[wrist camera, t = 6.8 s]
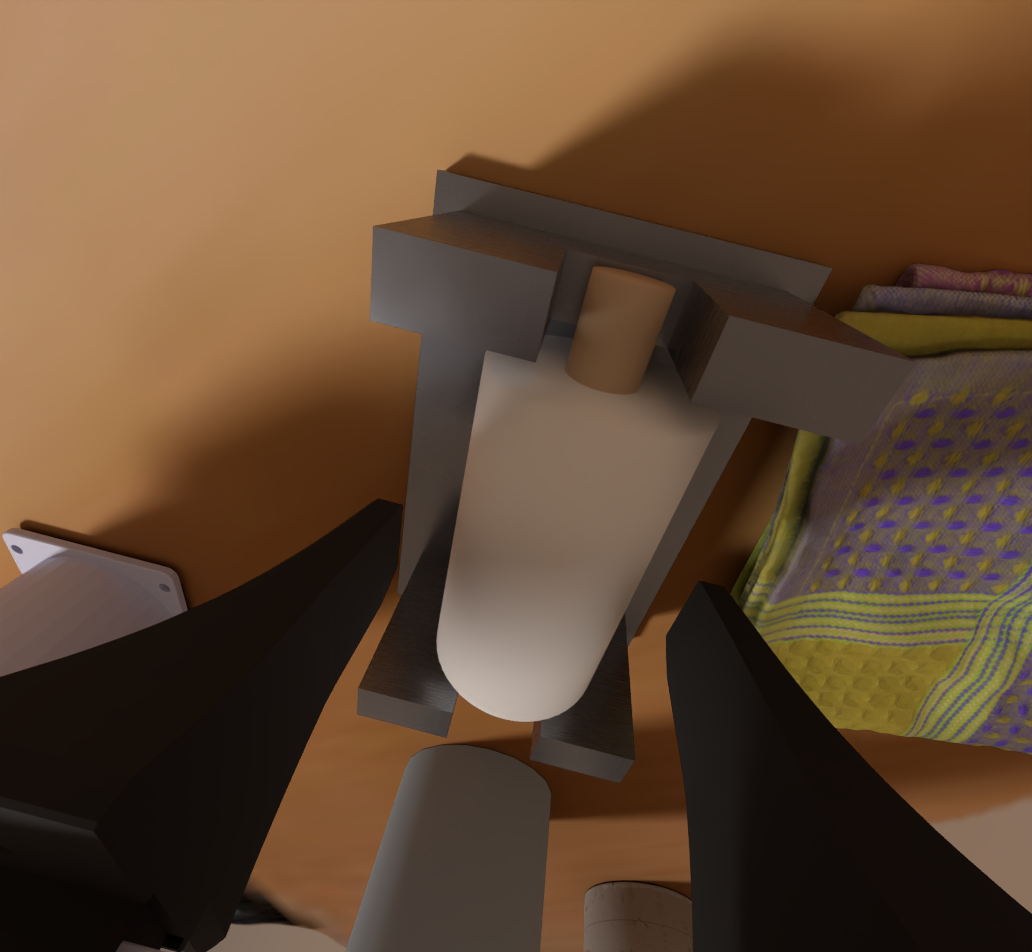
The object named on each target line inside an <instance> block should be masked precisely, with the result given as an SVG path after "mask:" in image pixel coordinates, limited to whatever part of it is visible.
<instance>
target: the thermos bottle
mask: <svg viewBox="0 0 1032 952" xmlns="http://www.w3.org/2000/svg"><path fill="white" fill-rule="evenodd" d="M584 952H693V934H692V901H691V900H690V899H688V898H687V897H685V896H683V895H681V894H679V893H677V892H675V891H672V890H669V889H666V888H663V887H659V886H655V885H651V884H645V883H637V882H609V883H604V884H599V885H596V886H594V887H592V888H590V889H589V890H588V891H587V892H586V894H585V908H584Z"/></svg>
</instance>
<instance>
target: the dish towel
mask: <svg viewBox="0 0 1032 952" xmlns="http://www.w3.org/2000/svg"><path fill="white" fill-rule="evenodd" d="M835 318H837V319H839V320H841V321H842V322H844V323H846V324H848V325H850V326H851V327H853V328H855V329H857V330H859V331H861V332H862V333H864V334H866V335H868V336H870V337H871V338H873V339H875V340H877V341H879V342H881V343H882V344H884V345H886V346H888V347H890V348H891V349H893V350H895V351H897V352H899V353H901V354H902V355H904V356H906V357H908V358H910V359H911V360H913V361H915V362H917V363H916V365H915V366H914V368H913V369H912V371H911V372H910V373H909V375H908V376H907V378H906V379H905V380H904V382H903V383H902V385H901V386H900V388H899V389H898V390H897V392H896V393H895V395H894V396H893V397H892V399H891V400H890V402H889V403H888V404H887V406H886V407H885V409H884V410H883V412H882V413H881V414H880V416H879V417H878V419H877V420H876V421H875V423H874V424H873V426H872V427H871V429H870V430H869V431H868V433H867V434H866V436H865V437H864V438H863V440H862V441H861V443H860V444H855V443H851V442H847V441H843V440H839V439H835V438H831V437H827V436H823V435H819V434H815V433H812V432H808V431H804V430H800V429H799V430H798V434H797V438H796V441H795V445H794V448H793V451H792V455H791V458H790V462H789V465H788V468H787V471H786V474H785V478H784V481H783V484H782V488H781V491H780V494H779V498H778V501H777V505H776V508H775V510H774V512H773V514H772V517H771V519H770V521H769V523H768V525H767V528H766V529H765V531H764V533H763V534H762V536H761V538H760V539H759V541H758V543H757V545H756V546H755V548H754V550H753V552H752V554H751V555H750V557H749V559H748V561H747V563H746V564H745V566H744V568H743V570H742V571H741V573H740V575H739V577H738V579H737V581H736V583H735V585H734V586H733V588H732V591H731V593H730V595H731V596H732V597H733V599H734V600H735V601H736V603H737V604H738V605H739V606H740V608H741V609H742V611H743V612H744V613H745V615H746V616H747V617H748V619H749V620H750V621H751V623H752V624H753V625H754V627H755V628H756V629H757V631H758V632H759V633H760V635H761V636H762V638H763V639H764V640H765V642H766V643H767V644H768V646H769V647H770V648H771V650H772V651H773V652H774V653H775V655H776V656H777V657H778V659H779V660H780V661H781V663H782V664H783V665H784V666H785V668H786V669H787V670H788V672H789V673H790V674H791V675H792V677H793V678H794V679H795V680H796V682H797V683H798V684H799V685H800V687H801V688H802V689H803V690H804V692H805V693H806V694H807V695H808V696H809V698H810V699H811V700H812V701H813V702H814V704H815V705H816V706H817V707H818V708H819V710H820V711H821V712H822V713H823V714H824V716H825V717H826V718H827V719H828V720H829V721H830V723H831V724H832V725H833V726H834V727H835V728H845V729H852V730H872V731H875V732H879V733H888V734H892V735H897V736H905V737H923V738H927V739H933V740H940V741H947V742H953V743H958V744H968V745H974V746H993V747H997V748H1000V749H1003V750H1007V751H1017V752H1022V753H1026V754H1029V755H1032V273H1030V274H1020V273H1013V272H1011V271H1008V270H991V271H988V272H971V273H966V272H960V271H957V270H954V269H950V268H947V267H944V266H935V265H926V264H912V265H910V266H909V267H908V268H907V269H906V270H905V271H904V273H903V274H902V276H901V277H900V279H899V280H898V281H897V283H896V285H895V286H878V285H867V286H865V287H863V289H862V291H861V293H860V295H859V297H858V299H857V301H856V303H855V305H854V307H853V309H852V311H843V312H841V313H838V314H836V315H835Z"/></svg>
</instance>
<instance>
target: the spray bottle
mask: <svg viewBox="0 0 1032 952" xmlns="http://www.w3.org/2000/svg"><path fill="white" fill-rule="evenodd" d="M550 806H551V792H550V789H549V787H548V785H547V783H546V781H545V780H544V779H543V778H542V777H541V776H540V775H539V774H538V773H537V772H536V771H535V770H534V769H533V768H531V767H529V766H527V765H526V764H524V763H522V762H520V761H519V760H517V759H515V758H513V757H511V756H508V755H505V754H502V753H499V752H496V751H493V750H491V749H486V748H480V747H474V746H468V745H439V746H435V747H431V748H427V749H423V750H421V751H420V752H418V753H417V754H415V755H414V756H412V757H411V758H410V760H409V762H408V764H407V766H406V768H405V771H404V774H403V777H402V780H401V784H400V787H399V790H398V793H397V796H396V799H395V802H394V805H393V808H392V811H391V814H390V817H389V820H388V823H387V826H386V829H385V833H384V836H383V839H382V842H381V845H380V848H379V851H378V854H377V857H376V860H375V863H374V866H373V869H372V872H371V875H370V878H369V881H368V885H367V888H366V891H365V894H364V897H363V900H362V903H361V906H360V909H359V912H358V915H357V918H356V921H355V924H354V927H353V930H352V934H351V937H350V940H349V943H348V946H347V949H346V952H540V943H541V929H542V915H543V902H544V888H545V874H546V861H547V847H548V833H549V819H550Z"/></svg>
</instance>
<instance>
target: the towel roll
mask: <svg viewBox="0 0 1032 952" xmlns="http://www.w3.org/2000/svg"><path fill="white" fill-rule="evenodd" d="M675 291H676V289H675V288H674V287H673V286H671V285H669V284H667V283H665V282H662V281H660V280H657V279H654V278H651V277H648V276H645V275H642V274H638V273H634V272H630V271H626V270H621V269H616V268H610V267H602V266H596V267H593V269H592V272H591V276H590V279H589V283H588V287H587V290H586V294H585V298H584V301H583V305H582V309H581V312H580V316H579V320H578V323H577V327H576V331H575V334H574V338H569V337H562V336H553V335H545V337H544V340H543V343H542V346H541V349H540V352H539V355H538V357H537V360H536V363H535V362H531V361H527V360H523V359H519V358H515V357H512V356H508V355H504V354H500V353H496V352H492V351H488V350H486V353H485V357H484V363H483V369H482V374H481V380H480V386H479V392H478V398H477V403H476V409H475V415H474V421H473V427H472V432H471V438H470V444H469V450H468V456H467V462H466V467H465V473H464V479H463V485H462V491H461V496H460V502H459V508H458V514H457V520H456V526H455V531H454V537H453V543H452V549H451V555H450V560H449V566H448V572H447V578H446V584H445V589H444V595H443V601H442V607H441V613H440V619H439V624H438V630H437V639H436V644H437V653H438V659H439V662H440V664H441V667H442V670H443V672H444V674H445V675H446V677H447V679H448V680H449V682H450V683H451V685H452V686H453V687H454V689H455V690H456V691H457V692H458V693H459V694H460V695H461V696H462V697H463V698H465V699H466V700H467V701H468V702H469V703H471V704H472V705H474V706H475V707H477V708H478V709H480V710H482V711H484V712H486V713H488V714H490V715H493V716H496V717H499V718H502V719H507V720H512V721H522V722H530V721H540V720H545V719H549V718H552V717H554V716H557V715H559V714H561V713H563V712H565V711H566V710H568V709H569V708H570V707H572V706H573V705H574V704H575V703H576V702H577V701H578V700H579V699H580V698H581V697H582V695H583V694H584V692H585V690H586V689H587V687H588V685H589V683H590V681H591V679H592V677H593V675H594V673H595V671H596V669H597V667H598V665H599V663H600V661H601V659H602V657H603V655H604V653H605V651H606V649H607V647H608V645H609V643H610V641H611V639H612V637H613V635H614V633H615V631H616V629H617V627H618V625H619V623H620V621H621V619H622V617H623V615H624V613H625V611H626V609H627V607H628V605H629V603H630V601H631V599H632V597H633V595H634V593H635V591H636V589H637V587H638V585H639V583H640V581H641V579H642V577H643V575H644V573H645V571H646V569H647V567H648V565H649V563H650V561H651V559H652V557H653V555H654V553H655V551H656V549H657V547H658V545H659V543H660V541H661V539H662V537H663V535H664V533H665V531H666V529H667V527H668V525H669V523H670V521H671V519H672V517H673V515H674V513H675V511H676V509H677V507H678V505H679V503H680V501H681V499H682V496H683V494H684V492H685V490H686V488H687V486H688V484H689V482H690V480H691V478H692V476H693V474H694V472H695V470H696V468H697V466H698V464H699V462H700V460H701V458H702V456H703V454H704V452H705V450H706V448H707V446H708V444H709V442H710V440H711V438H712V436H713V434H714V432H715V430H716V428H717V426H718V424H719V421H720V412H719V409H717V408H713V407H709V406H705V405H701V404H697V403H693V402H691V401H690V399H689V397H688V394H687V392H686V390H685V388H684V385H683V383H682V381H681V379H680V376H679V374H678V373H676V372H674V371H673V370H671V369H669V368H667V367H664V366H662V365H660V364H658V363H656V362H653V361H651V360H650V358H651V355H652V352H653V350H654V347H655V344H656V342H657V339H658V336H659V334H660V331H661V328H662V326H663V323H664V320H665V318H666V315H667V312H668V310H669V307H670V304H671V302H672V299H673V296H674V294H675Z"/></svg>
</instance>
